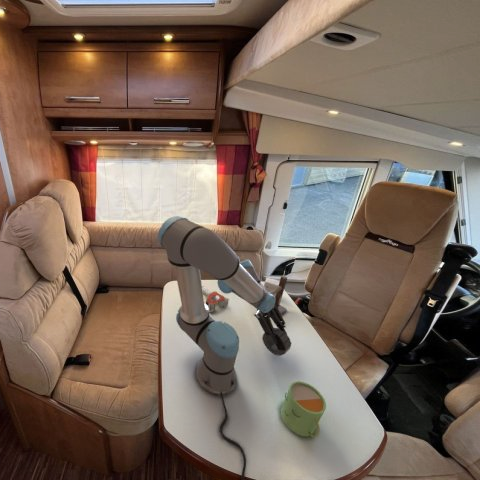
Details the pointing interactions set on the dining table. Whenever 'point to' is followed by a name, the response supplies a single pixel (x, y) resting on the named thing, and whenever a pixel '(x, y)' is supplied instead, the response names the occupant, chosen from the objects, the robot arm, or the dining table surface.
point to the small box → (271, 285)
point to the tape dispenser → (211, 296)
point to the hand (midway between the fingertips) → (285, 346)
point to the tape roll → (272, 346)
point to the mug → (303, 409)
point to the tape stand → (280, 294)
